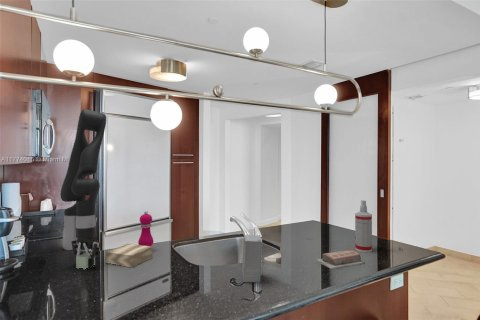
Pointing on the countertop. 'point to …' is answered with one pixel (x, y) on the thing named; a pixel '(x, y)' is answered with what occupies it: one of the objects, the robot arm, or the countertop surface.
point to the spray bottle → (363, 229)
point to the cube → (82, 261)
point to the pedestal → (129, 255)
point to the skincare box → (252, 258)
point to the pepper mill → (146, 230)
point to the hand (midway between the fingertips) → (85, 265)
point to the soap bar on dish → (340, 259)
